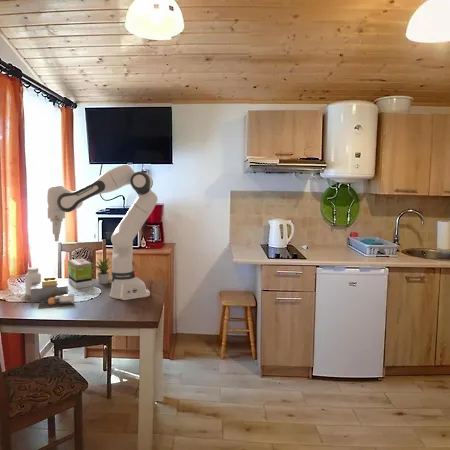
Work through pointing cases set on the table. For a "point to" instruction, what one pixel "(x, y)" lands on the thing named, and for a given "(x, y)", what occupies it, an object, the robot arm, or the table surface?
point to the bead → (51, 301)
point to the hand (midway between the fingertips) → (57, 239)
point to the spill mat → (46, 305)
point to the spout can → (65, 299)
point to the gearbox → (48, 289)
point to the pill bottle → (31, 279)
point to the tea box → (80, 273)
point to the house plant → (103, 271)
